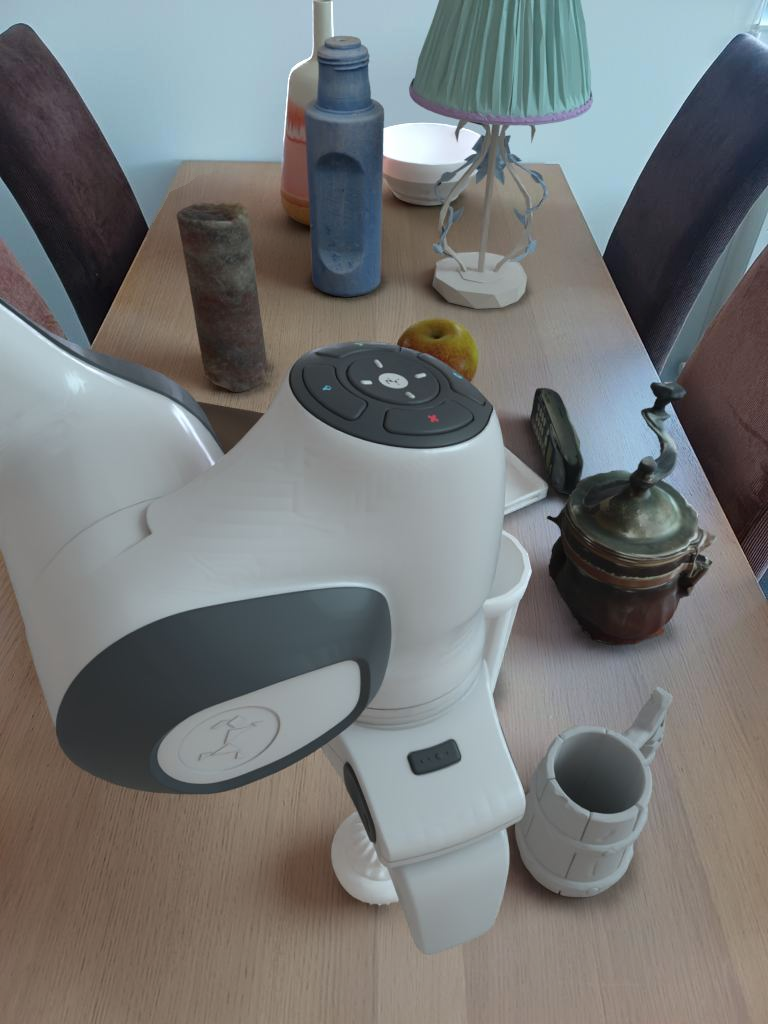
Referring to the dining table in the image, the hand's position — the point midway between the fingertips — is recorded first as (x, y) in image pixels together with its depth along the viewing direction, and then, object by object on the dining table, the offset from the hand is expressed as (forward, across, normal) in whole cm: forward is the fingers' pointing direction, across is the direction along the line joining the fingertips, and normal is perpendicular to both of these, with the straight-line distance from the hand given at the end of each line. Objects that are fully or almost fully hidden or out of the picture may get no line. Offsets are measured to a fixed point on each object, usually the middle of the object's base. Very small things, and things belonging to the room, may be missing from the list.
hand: (381, 806), depth 47 cm
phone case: (+9, -36, +24) cm, 43 cm away
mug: (+9, +2, +14) cm, 17 cm away
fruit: (+9, -50, +25) cm, 57 cm away
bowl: (+9, -104, +46) cm, 114 cm away
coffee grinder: (+9, -16, +27) cm, 33 cm away
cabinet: (+8, -33, -3) cm, 34 cm away
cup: (+9, -12, +11) cm, 18 cm away
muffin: (+9, 0, 0) cm, 9 cm away
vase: (+9, -100, +28) cm, 104 cm away
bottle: (+9, -78, +24) cm, 82 cm away
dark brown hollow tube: (+9, -60, +4) cm, 61 cm away
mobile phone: (+9, -33, +32) cm, 47 cm away
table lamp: (+9, -71, +41) cm, 82 cm away
